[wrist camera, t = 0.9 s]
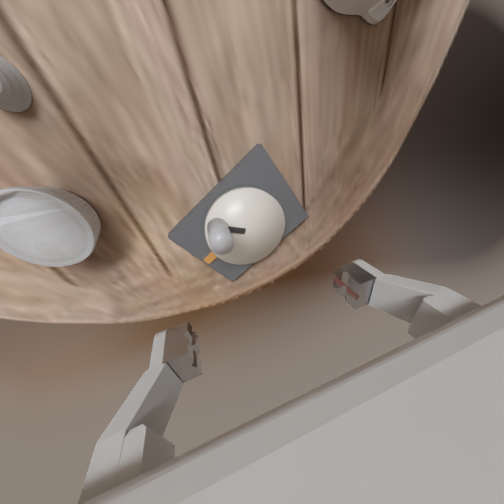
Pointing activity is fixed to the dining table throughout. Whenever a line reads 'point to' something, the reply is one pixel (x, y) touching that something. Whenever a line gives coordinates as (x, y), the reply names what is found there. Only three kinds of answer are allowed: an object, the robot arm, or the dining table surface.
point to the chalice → (13, 89)
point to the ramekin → (47, 226)
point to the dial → (244, 225)
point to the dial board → (243, 174)
